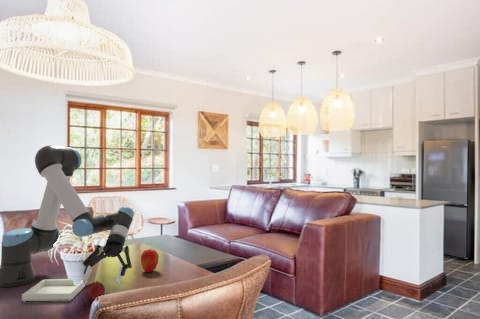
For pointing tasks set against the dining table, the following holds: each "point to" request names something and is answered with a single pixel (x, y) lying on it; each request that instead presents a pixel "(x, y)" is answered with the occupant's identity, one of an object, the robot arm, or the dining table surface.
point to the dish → (53, 290)
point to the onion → (96, 290)
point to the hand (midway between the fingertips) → (100, 282)
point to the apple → (149, 260)
